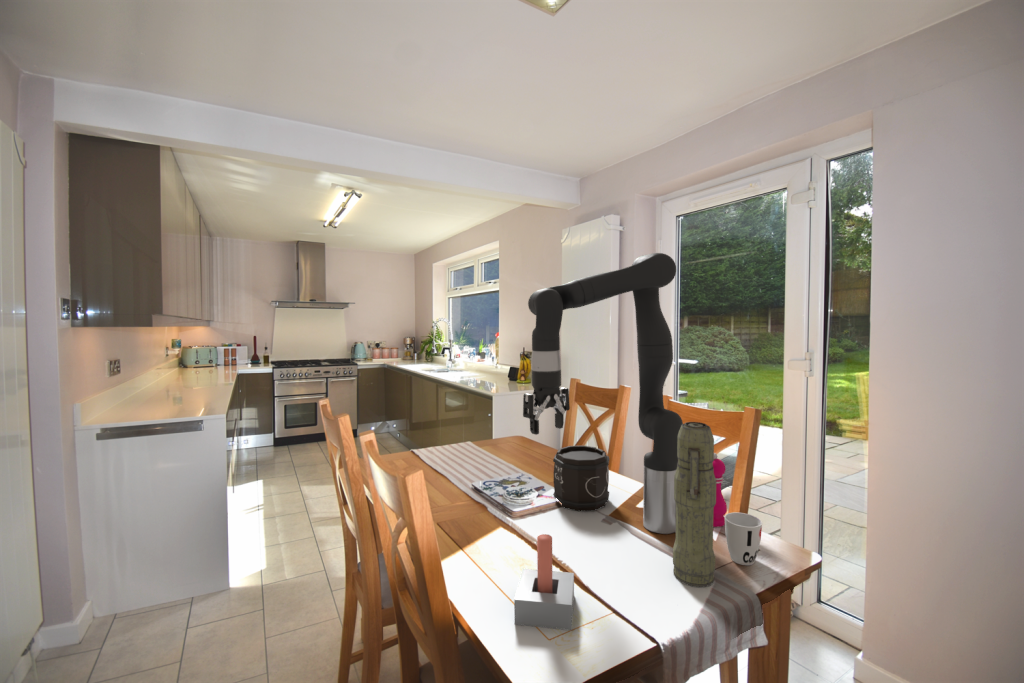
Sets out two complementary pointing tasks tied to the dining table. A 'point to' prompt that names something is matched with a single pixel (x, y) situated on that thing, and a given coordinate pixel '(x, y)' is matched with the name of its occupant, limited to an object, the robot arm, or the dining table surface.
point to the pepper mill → (719, 494)
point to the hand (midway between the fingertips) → (547, 430)
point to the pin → (544, 563)
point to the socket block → (545, 601)
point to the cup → (743, 537)
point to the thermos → (694, 505)
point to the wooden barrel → (581, 477)
